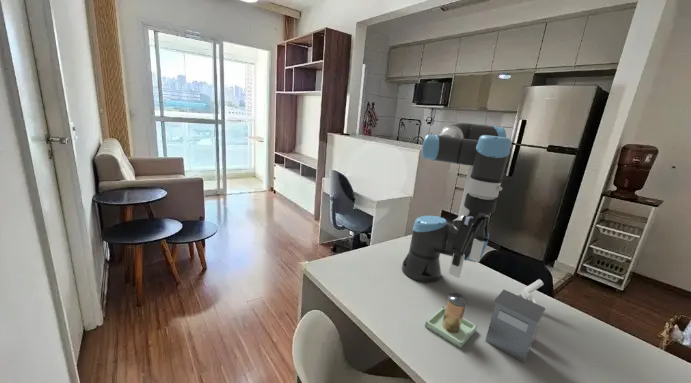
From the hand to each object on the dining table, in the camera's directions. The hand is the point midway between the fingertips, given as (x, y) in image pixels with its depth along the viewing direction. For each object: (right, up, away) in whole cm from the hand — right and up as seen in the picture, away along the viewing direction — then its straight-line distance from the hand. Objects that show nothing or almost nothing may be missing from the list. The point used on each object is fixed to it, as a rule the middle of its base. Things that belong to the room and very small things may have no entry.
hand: (464, 267), depth 83 cm
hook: (+31, -19, +23) cm, 42 cm away
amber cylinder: (-2, -19, +5) cm, 20 cm away
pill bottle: (+20, -22, +5) cm, 30 cm away
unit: (+13, -22, +1) cm, 26 cm away
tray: (-2, -20, +5) cm, 20 cm away
